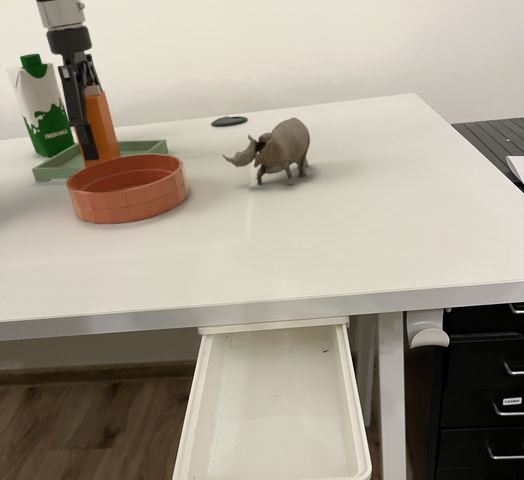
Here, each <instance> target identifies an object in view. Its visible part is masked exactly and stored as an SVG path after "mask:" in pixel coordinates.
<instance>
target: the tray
mask: <svg viewBox="0 0 524 480" xmlns="http://www.w3.org/2000/svg"><path fill="white" fill-rule="evenodd" d="M117 142H118V146H119V150H120V154H121V157H122V156H127V155H135V154H149V153H159V154H167V153H168V152H169V148H168V143H167V139H141V140H140V139H137V140H117ZM82 168H85V164H84V160H83V157H82V154H81V150H80V147H79V143H78V142H75V144H74V145H73V146H71V147H69V148H67V149H66V150H64V151H62V152H60V153H59V154H57V155H55V156H52V157H49V158H48V159H46V160H44V161H43V162H41V163H39V164H38V165H36V166H33V168H31V172H32V174H33V177H34V180H35V182H51V180H52V179H69V177H70V176H71V175H72V174H74V173H75V172H77V171H79V170H80V169H82Z"/></svg>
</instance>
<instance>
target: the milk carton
mask: <svg viewBox="0 0 524 480" xmlns="http://www.w3.org/2000/svg"><path fill="white" fill-rule="evenodd" d="M19 59H20V63H21V65H18V66H13V67H8V68H5V72H6V73H7V76H8V79H9V81H10V84H11V87H12V89H13V92H14V95H15V97H16V101H17V104H18V106H19V110H20V113H21V115H22V118H23V121H24V124H25V127H26V130H27V133H28V135H29V138H30V141H31V143H32V146H33V148H34V152H35V153H36V154H38V155H41V156H43V157H46V158H52V157H53V156H55V155H57V154H59V153H60V152H62V151H64V150H66V149H67V148H69V147H71V146H73V145H74V144H76V142H75V140H74V135H73V132H72V127H70V125H69V119H68V114H67V110H66V106H65V104H64V100H63V97H62V95H61V91H60V88H59V84H58V80H57V77H56V72H55V66H54V63H51V62H45V61H42V59H41V55H40V53H30V54H25V55H21V56H19Z"/></svg>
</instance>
